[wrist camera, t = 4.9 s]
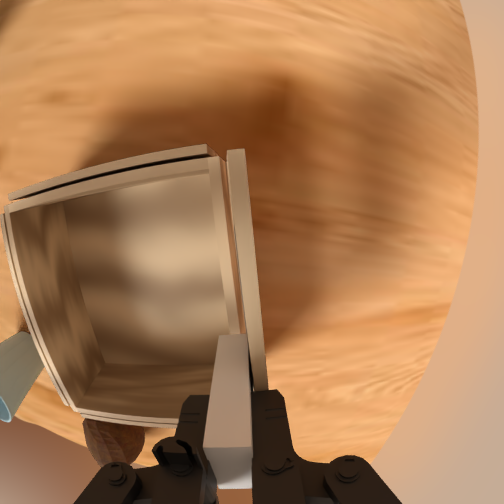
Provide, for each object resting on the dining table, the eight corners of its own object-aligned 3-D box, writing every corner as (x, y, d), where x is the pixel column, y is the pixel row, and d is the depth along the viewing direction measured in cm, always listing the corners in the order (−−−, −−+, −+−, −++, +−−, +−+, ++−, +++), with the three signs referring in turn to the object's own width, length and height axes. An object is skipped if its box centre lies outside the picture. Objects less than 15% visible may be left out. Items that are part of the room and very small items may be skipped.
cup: (32, 318, 25) (-22, 362, 15) (63, 372, 27) (22, 425, 17) (3, 327, 25) (-43, 365, 15) (31, 375, 27) (-7, 419, 17)
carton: (54, 190, 22) (-4, 198, 14) (227, 155, 21) (217, 141, 14) (100, 369, 26) (70, 415, 19) (252, 368, 26) (254, 428, 18)
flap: (225, 164, 14) (226, 150, 8) (237, 162, 14) (245, 148, 8) (257, 422, 18) (268, 489, 12) (265, 421, 18) (278, 488, 12)
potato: (105, 433, 29) (87, 473, 22) (91, 384, 27) (63, 428, 19) (154, 446, 30) (142, 491, 22) (147, 399, 27) (127, 450, 20)
